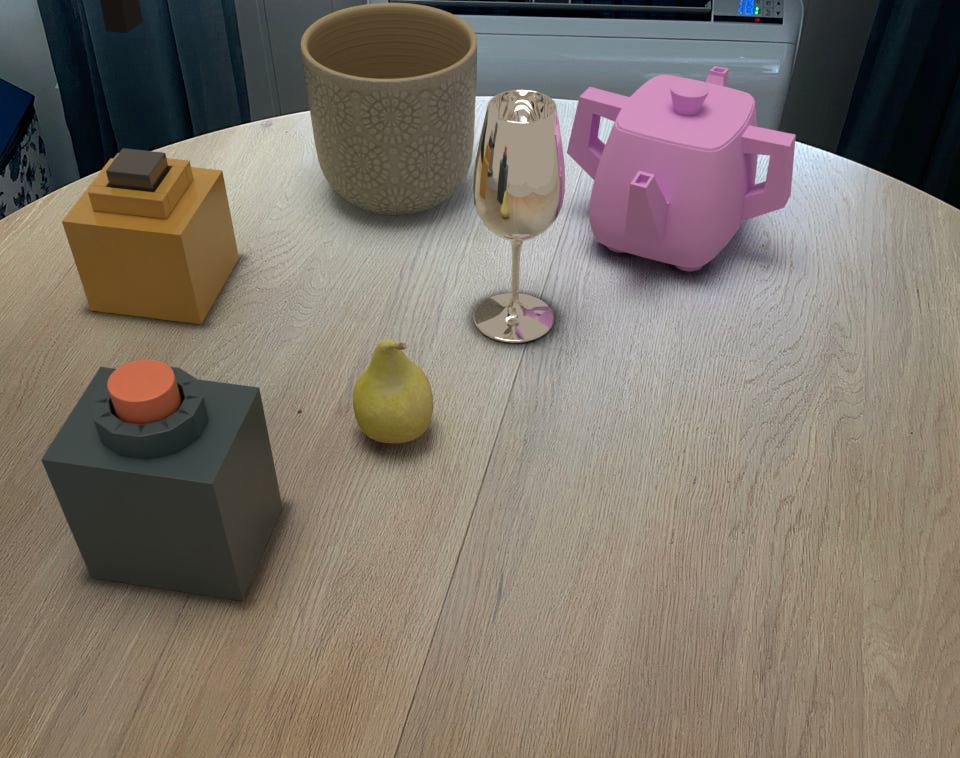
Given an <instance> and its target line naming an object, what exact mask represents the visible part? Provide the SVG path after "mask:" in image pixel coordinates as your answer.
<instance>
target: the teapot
mask: <svg viewBox="0 0 960 758" xmlns="http://www.w3.org/2000/svg"><path fill="white" fill-rule="evenodd" d="M729 71H730V68H727V67H723V66H719V65H714V66H713V67H711V69H709V72H708V75H707V78H706V80H705V81H702V80H697V79H693V78H687V77H682V76H679V75H677V76H676V75H670V74H659V75H656V76H654V77H652V78H650V79H649V80H647V81H646V82H645V83H643V84H642V85H641V86H639V88H638V89H636V90H635V91H634V93H633V94H631V95H630V96H626V95H623V94H619V93H616V92H611V91H607V90H604V89H599V88H596V87H593V86H589V87H587V89H586V90H585V91H584V92H583V93H582V94H580V96H579V97H578V101H577V105H576V106H577V107H576V110H575V114H574V118H573V123H572V127H571V131H570V136H569V140H568V145H567V149H566V154H567V155H568V156H569V157H570V158H571V159H572V160H573V161H574V162H575V163H576V164H577V165H578V166H579V167H580V168H581V169H582V170H583V171H584V172H585V173H586V174H587V175H588V176H589V177H590V178H591V179H592V180H593V184H592V189H591V193H590V198H589V206H588V218H589V225H590V228H591V231H592V233H593V236H594V238H595V241H596V242H598V244H599V243H600V244H601V245H604V246H606V247H607V249H608V250H610V251H612V252H614V253H618V254H619V253H623V254H625V253H627V254H630V255H634V256H637V257H641V258H644V259H648V260H653V261H656V262H660V263H664V264H669V265H673V266H675V268H677V270H678V269H679V270H681V271H684V272H695V271H700V270H701V269H702V268H703V266H705V265H706V264H708V263H710V262H711V261H712V260H713V259H715V257H717V256H718V255H719V254H720V253H721V251H722V250H723V249H725V247H726V246H727V245H728V244H729V243H730V241H732V239H733V237H734V236H735V235H736V233H737V232H738V230H739V229H740V227H741V226H742V224H743V222H744V221H748V220H751V219H753V218H757V217H760V216H762V215H766V214H769V213H772V212H775V211H777V210H782V209H784V208H785V207H786V205H787V204H788V201H789V199H790V198H791V196H792V195H791V194H792V184H793V172H794V160H795V151H796V150H795V149H796V138H797V134H795V133H790V132H789V133H788V132H785V131H780V130H775V129H770V128H765V127H759V126H758V121H757V109H756V108H757V107H756V101H755V98H754V97H753V96H752V94H751V93H749V92H746V91H742V90H740V89H735V88H731V87H728V80H729V79H728V77H729ZM602 118H604V119H607V120H609V121H611V122H614V123H613V125H612V127H611V130H610V131H609V134H608V137H607V140H606V143H604V142H603V141H602V139H600V138H599V133H600V126H601V125H600V124H601V119H602ZM758 156H769V160H768V165H767V171H766V172H767V173H766V177H765V181H762V182H757V183H756V177H757V167H758Z"/></svg>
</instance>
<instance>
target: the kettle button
mask: <svg viewBox="0 0 960 758" xmlns="http://www.w3.org/2000/svg"><path fill="white" fill-rule="evenodd" d="M118 153H119V154H118V156H117V157H116V158H115V159H114V158H113V159H114V161H113V162H112V163H111V165H110V166H109V167H108V168H107V170H106V174H107V177H108V181H109V185H110V187H111V188H120V189H129V190H138V191H147V192H155V191H156V189H157V188H158V186H159V185H160V183H161V182H162V181H163V179H164V178H165V176H166V175H167V173H168V172H169V167H168V162H167V158H168V157H167V154H166V152H161V151H153V150H145V149H143V150H142V149H134V148H125V147H124V148H122V149H121V150H120V151H119V152H118Z"/></svg>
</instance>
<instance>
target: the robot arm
mask: <svg viewBox="0 0 960 758" xmlns="http://www.w3.org/2000/svg"><path fill="white" fill-rule="evenodd" d="M99 2H100V7H101V12H102V18H103V23H104V28H105V32H107V33H108V32H109V33H118V34H128V33H130V32H131V31H133V30H134V29H135V28H136V27H138V26H139V25H142V23H143V22H144V21H143V15H142V8H141V3H140V0H99Z"/></svg>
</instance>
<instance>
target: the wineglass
mask: <svg viewBox="0 0 960 758" xmlns="http://www.w3.org/2000/svg"><path fill="white" fill-rule="evenodd" d="M479 136H480V137H479V141H478V146H477V151H476V157H475V161H474V169H473V170H474V171H473V178H472V179H473V180H472V194H473V204H474V207H475V211H476V213H477V216H478V217H479V219H480V220H481V221H482V223H483V224H484V225H485V227H486V228H487V229H488V230H489V231H490V232H492V233H493V234H495V235H496V236H498V237H499V238H501V239H503V240H506V241H509V242H510V248H511V278H510V279H511V281H510V282H511V285H510V292H506V293H500V294H499V293H498V294H496V295H492V296H490V297H488V298H486V299H484V300H483V301H481V302H480V303H479V304H478V305H477V307H476V308H475V310H474V313H473V322H474V325H475V327H476V328H477V330H478V331H479V332H480V333H482V335H485V336H487V337H488V338H489V339H492V340H494V341H498V342H503V343H508V344H509V343H510V344H521V343H522V344H523V343H528V342H532V341H536V340H538V339H540V338H542V337H544V336H545V335H547V334H548V333H549V331H551V329H552V327H553V325H554V321H555V316H554V311H553V310H552V308H551V307H550V306H549V305H548V303H546V302H545V301H543V300H542V299H540V298H538V297H536V296H533V295H530V294H526V293H520V291H519V290H520V287H519V286H520V267H521V252H522V249H523V244H524V242H526V241H530V240H533V239H535V238H537V237H538V236H540V235H542V234H544V233H545V232H547V231H548V229H550V227H551V226H552V225H553V224H554V223H555V221H557V219H558V218H559V215H560V213H561V210H562V209H563V205H564V199H565V193H566V166H565V157H564V149H563V139H562V132H561V126H560V121H559V114H558V107H557V104H556V102H555V100H554V99H553V98H551V96H549V95H548V94H544V93H542V92H539V91H535V90H529V89H512V90H506V91H503V92H500V93H498V94H495V95H494V96H493V97H491V98H490V99H489V101H488V102H487V106H486V111H485V115H484V119H483V123H482V127H481V132H480V135H479Z"/></svg>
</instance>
